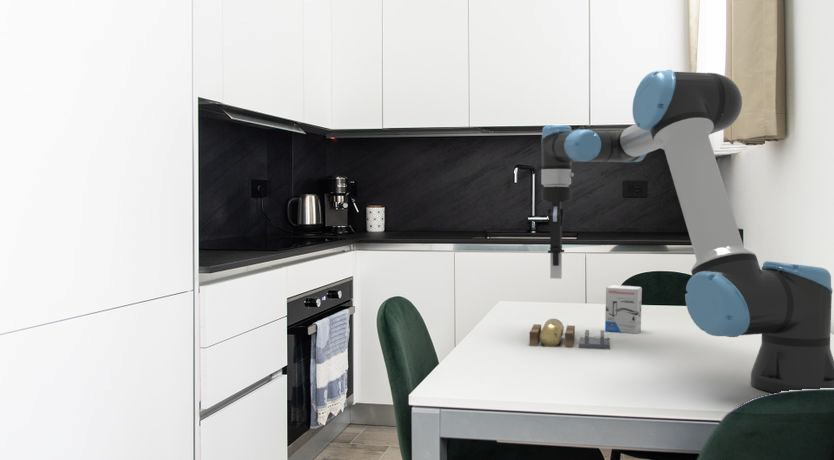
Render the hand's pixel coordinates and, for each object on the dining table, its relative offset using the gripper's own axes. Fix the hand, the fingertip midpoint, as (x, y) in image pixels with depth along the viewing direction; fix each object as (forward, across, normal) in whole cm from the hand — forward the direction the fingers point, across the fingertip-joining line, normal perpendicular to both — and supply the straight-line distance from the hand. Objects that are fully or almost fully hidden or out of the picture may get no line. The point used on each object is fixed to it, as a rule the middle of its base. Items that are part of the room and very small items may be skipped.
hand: (555, 277), depth 213 cm
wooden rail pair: (+14, -12, 0) cm, 19 cm away
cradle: (+14, -14, -10) cm, 22 cm away
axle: (+12, -12, 0) cm, 17 cm away
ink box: (+15, +8, -17) cm, 24 cm away
